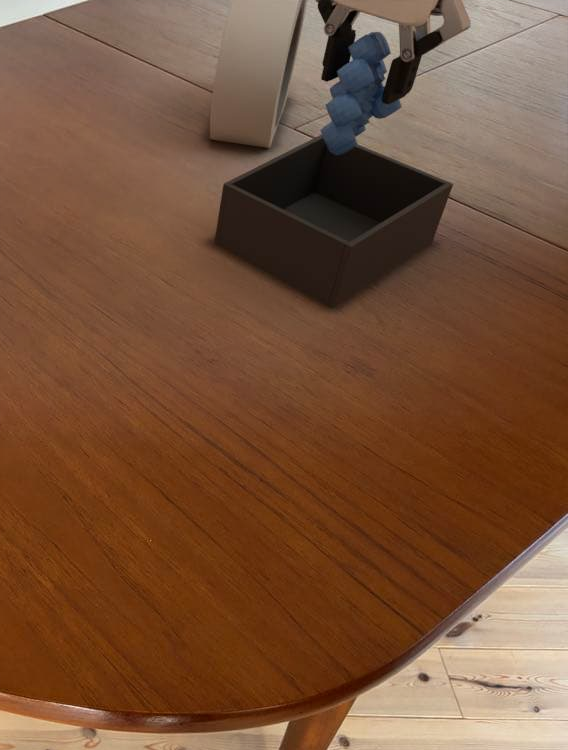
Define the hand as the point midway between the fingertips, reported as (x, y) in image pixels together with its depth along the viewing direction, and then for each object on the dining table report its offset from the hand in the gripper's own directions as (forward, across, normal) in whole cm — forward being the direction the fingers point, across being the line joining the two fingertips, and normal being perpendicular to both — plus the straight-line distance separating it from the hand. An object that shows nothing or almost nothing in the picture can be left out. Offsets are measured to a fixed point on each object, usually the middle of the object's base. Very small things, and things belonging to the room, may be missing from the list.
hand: (363, 86), depth 79 cm
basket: (+18, 0, 0) cm, 18 cm away
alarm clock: (+18, +24, -17) cm, 34 cm away
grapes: (+7, 0, 0) cm, 7 cm away
